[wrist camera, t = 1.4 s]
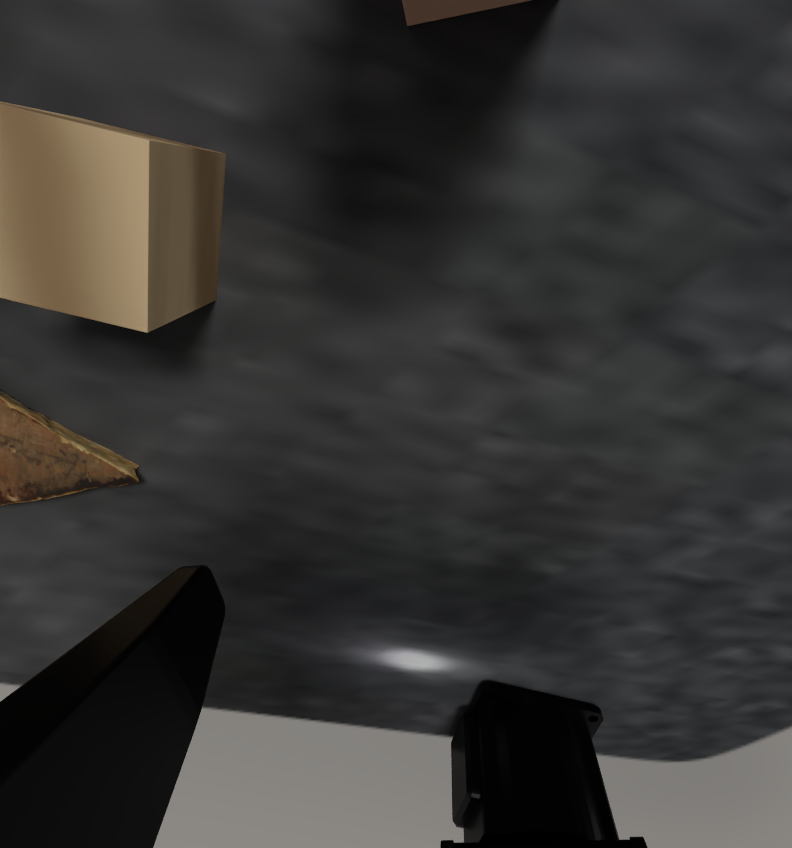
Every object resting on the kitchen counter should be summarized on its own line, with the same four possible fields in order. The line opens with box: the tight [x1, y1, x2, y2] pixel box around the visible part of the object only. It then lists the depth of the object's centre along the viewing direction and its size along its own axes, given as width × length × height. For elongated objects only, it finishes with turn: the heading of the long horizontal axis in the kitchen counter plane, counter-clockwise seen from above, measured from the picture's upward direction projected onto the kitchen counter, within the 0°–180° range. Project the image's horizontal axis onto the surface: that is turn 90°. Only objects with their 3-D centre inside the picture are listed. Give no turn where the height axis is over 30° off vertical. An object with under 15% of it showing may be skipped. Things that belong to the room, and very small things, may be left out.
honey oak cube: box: [0, 102, 226, 333], centre depth 16 cm, size 5×5×5 cm
